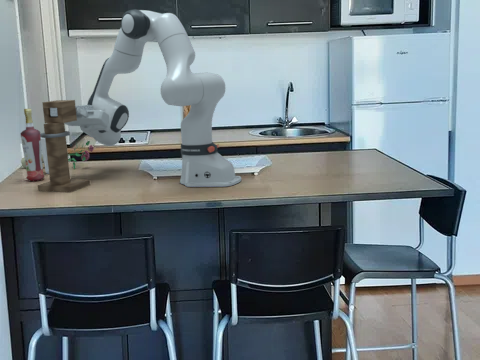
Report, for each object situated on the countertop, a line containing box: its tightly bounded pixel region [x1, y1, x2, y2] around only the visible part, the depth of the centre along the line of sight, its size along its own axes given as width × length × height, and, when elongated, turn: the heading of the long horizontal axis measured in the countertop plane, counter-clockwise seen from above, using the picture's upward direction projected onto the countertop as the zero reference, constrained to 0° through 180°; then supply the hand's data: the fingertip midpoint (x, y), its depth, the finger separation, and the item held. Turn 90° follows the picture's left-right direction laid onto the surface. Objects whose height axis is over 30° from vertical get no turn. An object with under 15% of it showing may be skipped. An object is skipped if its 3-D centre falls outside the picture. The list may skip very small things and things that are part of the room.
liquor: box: [20, 108, 45, 182], centre depth 235 cm, size 7×7×28 cm
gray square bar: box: [50, 104, 93, 116], centre depth 225 cm, size 3×22×3 cm, turn 159°
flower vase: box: [20, 140, 95, 170], centre depth 261 cm, size 12×12×35 cm
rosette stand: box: [37, 99, 91, 193], centre depth 218 cm, size 14×13×31 cm
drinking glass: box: [41, 137, 49, 175], centre depth 250 cm, size 7×7×15 cm
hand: (71, 109), depth 224 cm, fingers closed on gray square bar, 3 cm apart
